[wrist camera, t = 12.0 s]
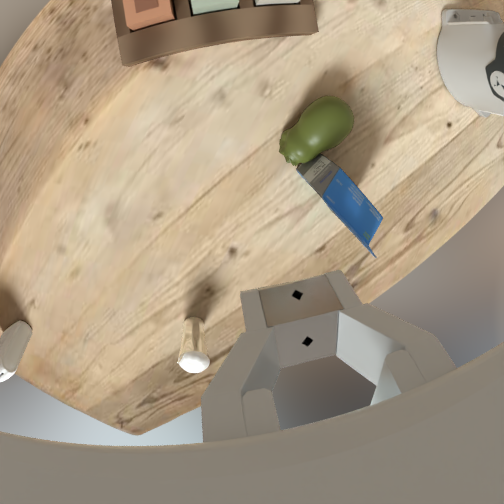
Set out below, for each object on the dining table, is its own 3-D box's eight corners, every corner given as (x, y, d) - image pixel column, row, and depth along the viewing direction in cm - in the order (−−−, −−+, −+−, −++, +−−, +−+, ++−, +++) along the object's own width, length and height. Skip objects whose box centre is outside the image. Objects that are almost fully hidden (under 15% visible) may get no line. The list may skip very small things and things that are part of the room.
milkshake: (191, 306, 46) (190, 355, 38) (213, 324, 49) (216, 373, 40) (170, 319, 47) (167, 368, 39) (193, 336, 50) (193, 384, 41)
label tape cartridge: (355, 192, 40) (403, 235, 29) (336, 211, 41) (377, 259, 30) (314, 148, 36) (358, 179, 25) (293, 169, 37) (328, 208, 27)
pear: (369, 127, 29) (304, 183, 34) (354, 115, 34) (297, 165, 38) (337, 90, 27) (270, 151, 31) (325, 83, 31) (266, 137, 36)
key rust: (170, -10, 23) (165, -23, 18) (176, 22, 25) (171, 13, 21) (131, 1, 22) (120, -10, 18) (137, 33, 25) (126, 26, 21)
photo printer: (14, 345, 47) (-5, 390, 36) (1, 331, 44) (-21, 376, 34) (36, 331, 45) (15, 381, 35) (21, 316, 43) (-4, 365, 33)
